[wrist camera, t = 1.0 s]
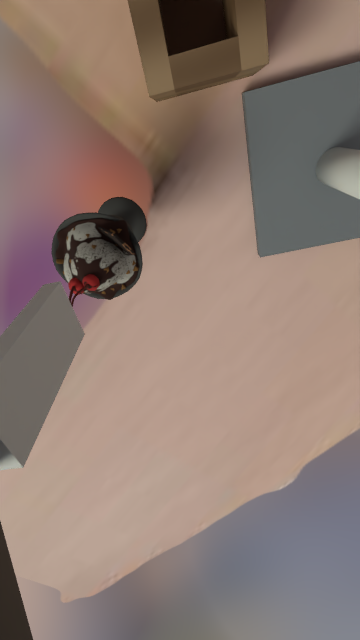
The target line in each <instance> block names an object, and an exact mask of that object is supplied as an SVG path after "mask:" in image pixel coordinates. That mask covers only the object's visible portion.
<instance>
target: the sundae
mask: <svg viewBox="0 0 360 640" xmlns="http://www.w3.org/2000/svg"><path fill="white" fill-rule="evenodd" d="M145 231H146V218H145V215H144V213H143V211H142V209H141V208H140V207H139V206H138V205H137V204H136V203H135V202H134V201H132V200H130V199H127V198H124V197H115V198H111V199H109V200H107V201H106V202H104V204H103V205H102V206H101V207H100V209H99V211H98V213H82V214H77V215H74V216H72V217H70V218H68V219H66V220H65V221H64V222H63V223H62V224H61V225H60V226H59V228H58V229H57V231H56V233H55V235H54V238H53V243H52V257H53V262H54V265H55V267H56V270H57V271H58V273H59V274H60V275H61V277H62V278H63V279H64V280H65V281H66V282H67V283H68V284H69V289H70V290H71V291H70V296H69V301H70V303H71V297H72V294H73V293H74V294H75V296H74V297H73V299H72V303H71V305H72V307H73V302H74V299H75V297H76V296H77V295H78V294H82V293H83V294H86V295H88V296H90V297H94V298H97V299H108V300H111V299H113V298H115V297H117V296H120V295H122V294H124V293H125V292H127V291H128V290H130V289H131V288H132V287H133V286H134V285H135V284H136V282H137V281H138V279H139V278H140V274H141V271H142V255H141V250H140V246H139V244H138V242H139V241H140V240H141V239H142V237H143V236H144V234H145Z"/></svg>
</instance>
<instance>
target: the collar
mask: <svg viewBox="0 0 360 640" xmlns="http://www.w3.org/2000/svg"><path fill="white" fill-rule="evenodd" d="M128 4H129V8H130V13H131V17H132V22H133V26H134V30H135V35H136V39H137V44H138V48H139V53H140V57H141V62H142V66H143V71H144V75H145V79H146V84H147V88H148V93H149V96H150V97H151V98H152V99H154V100H155V101H156V102H158V101H162V100H165V99H169V98H172V97H176V96H180V95H183V94H187V93H191V92H194V91H198V90H202V89H205V88H209V87H212V86H216V85H220V84H223V83H227V82H231V81H234V80H238V79H242V78H245V77H249V76H252V75H254V74H255V73H257V72H258V71H259V70H260V69H262V68H263V67H264V66H266V65H267V64H268V63H269V56H268V40H267V24H266V7H265V0H222V4H223V13H224V22H225V31H226V40H223V41H220V42H216V43H213V44H209V45H206V46H203V47H199V48H196V49H192V50H189V51H185V52H182V53H179V54H175V55H172V56H170V55H169V50H168V45H167V39H166V34H165V29H164V23H163V18H162V12H161V7H160V2H159V0H128Z"/></svg>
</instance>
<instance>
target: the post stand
mask: <svg viewBox="0 0 360 640" xmlns="http://www.w3.org/2000/svg"><path fill="white" fill-rule="evenodd" d="M242 100H243V110H244V120H245V130H246V140H247V150H248V160H249V170H250V180H251V190H252V200H253V210H254V220H255V230H256V240H257V250H258V254H259V256H260V257H264V256H269V255H274V254H279V253H284V252H289V251H294V250H299V249H304V248H309V247H315V246H320V245H325V244H330V243H335V242H340V241H345V240H350V239H355V238H360V61H359V62H355V63H351V64H347V65H344V66H340V67H336V68H333V69H329V70H325V71H321V72H318V73H314V74H310V75H307V76H303V77H299V78H295V79H292V80H288V81H284V82H281V83H277V84H273V85H269V86H266V87H262V88H258V89H255V90H251V91H247V92H244V93H242Z"/></svg>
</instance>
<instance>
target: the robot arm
mask: <svg viewBox="0 0 360 640" xmlns="http://www.w3.org/2000/svg"><path fill="white" fill-rule="evenodd" d="M83 337H84V332H83V329H82V327H81V325H80V323H79V321H78V319H77V316H76V314H75V312H74V310H73V308H72V305H71V303H70V301H69V299H68V297H67V295H66V292H65V291H64V288H63V286H62V284H61V282H55V283H50V284H45V285H43V286H42V287H41V288H40V290H39V291H38V292H37V293H36V295H35V296H34V297H33V298H32V299H31V300H30V302H29V303H28V304H27V305H26V306H25V308H24V309H23V310H22V311H21V312H20V313H19V315H18V316H17V317H16V318H15V319H14V321H13V322H12V323H11V324H10V325H9V327H8V328H7V329H6V330H5V331H4V333H3V334H2V335H1V336H0V470H6V469H15V468H23V467H24V465H25V462H26V460H27V458H28V456H29V454H30V452H31V449H32V447H33V445H34V443H35V441H36V439H37V436H38V434H39V432H40V430H41V428H42V426H43V423H44V421H45V419H46V417H47V415H48V413H49V410H50V408H51V406H52V404H53V402H54V400H55V397H56V395H57V393H58V391H59V389H60V387H61V384H62V382H63V380H64V378H65V376H66V374H67V371H68V369H69V367H70V365H71V363H72V360H73V358H74V356H75V354H76V352H77V350H78V347H79V345H80V343H81V341H82V339H83ZM0 640H33V638H32V634H31V630H30V627H29V623H28V619H27V616H26V612H25V609H24V605H23V601H22V598H21V594H20V591H19V587H18V584H17V580H16V576H15V573H14V569H13V565H12V562H11V558H10V554H9V551H8V547H7V544H6V540H5V536H4V533H3V529H2V526H1V522H0Z"/></svg>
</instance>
